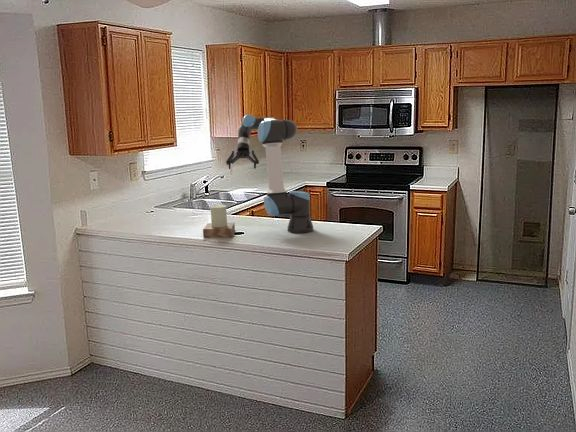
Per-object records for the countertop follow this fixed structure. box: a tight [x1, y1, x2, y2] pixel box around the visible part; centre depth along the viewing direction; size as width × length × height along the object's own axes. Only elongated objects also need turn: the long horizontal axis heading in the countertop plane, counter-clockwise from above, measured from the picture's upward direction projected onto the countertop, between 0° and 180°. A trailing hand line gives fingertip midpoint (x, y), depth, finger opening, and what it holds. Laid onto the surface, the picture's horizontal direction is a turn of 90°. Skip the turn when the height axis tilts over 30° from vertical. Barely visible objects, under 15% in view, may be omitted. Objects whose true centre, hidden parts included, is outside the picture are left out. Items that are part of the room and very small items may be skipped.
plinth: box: [202, 222, 236, 239], centre depth 326 cm, size 16×16×5 cm
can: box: [210, 204, 228, 227], centre depth 324 cm, size 9×9×12 cm
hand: (242, 172), depth 343 cm, fingers open, 13 cm apart
